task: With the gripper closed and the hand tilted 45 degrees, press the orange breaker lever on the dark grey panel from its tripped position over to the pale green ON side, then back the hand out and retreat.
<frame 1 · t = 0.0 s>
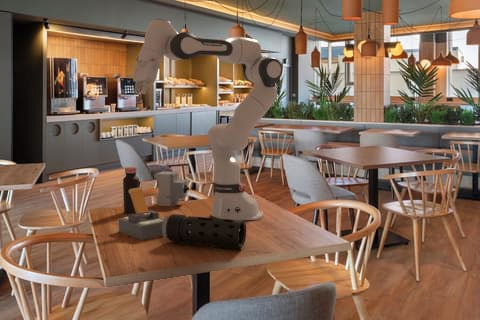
hand: (139, 93, 199), 52 cm above the table, tool tilted 20°, fingers open, 8 cm apart
muzzle brake: (203, 246, 178), on the table
bottle: (131, 212, 226), on the table
panel: (143, 232, 194), on the table
circuit breaker: (174, 204, 242), on the table
lever: (139, 203, 194), point 11 cm above the table, hinge at -30.0°
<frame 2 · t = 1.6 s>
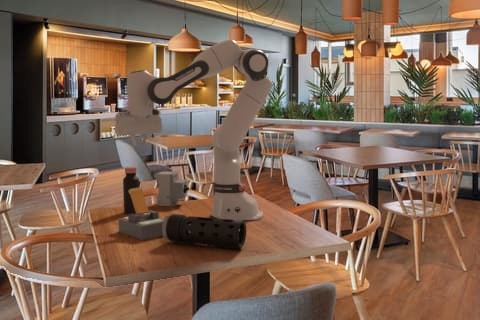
hand: (139, 145, 208), 31 cm above the table, tool pointing down, fingers closed
nothing on the table moved.
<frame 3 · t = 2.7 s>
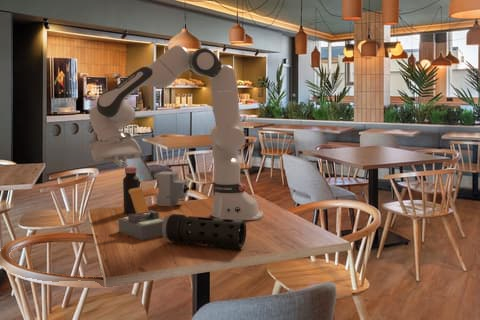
hand: (123, 166, 200), 24 cm above the table, tool tilted 45°, fingers closed
nothing on the table moved.
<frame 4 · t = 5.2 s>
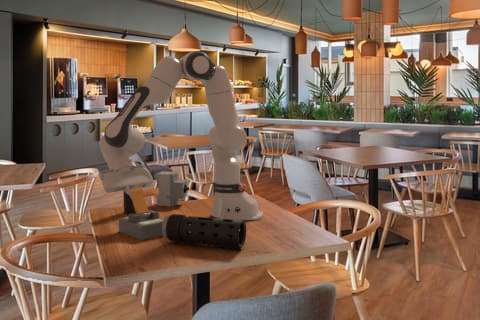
hand: (135, 197, 196), 13 cm above the table, tool tilted 45°, fingers closed, pressing on lever
lever: (139, 203, 194), point 11 cm above the table, hinge at -29.8°, touching gripper
everything else where it was.
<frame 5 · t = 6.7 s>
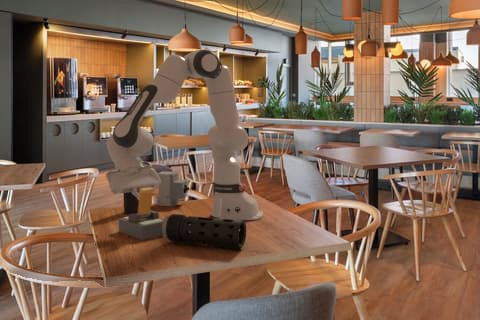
hand: (142, 199, 191), 13 cm above the table, tool tilted 45°, fingers closed, pressing on lever
lever: (145, 203, 191), point 11 cm above the table, hinge at 14.1°, touching gripper
everything else where it was.
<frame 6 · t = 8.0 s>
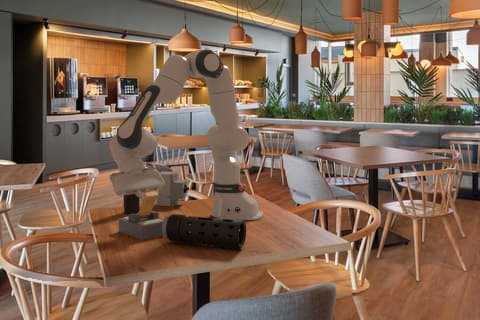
hand: (146, 200, 190), 13 cm above the table, tool tilted 45°, fingers closed, pressing on lever
lever: (147, 205, 190), point 11 cm above the table, hinge at 32.3°, touching gripper
everything else where it was.
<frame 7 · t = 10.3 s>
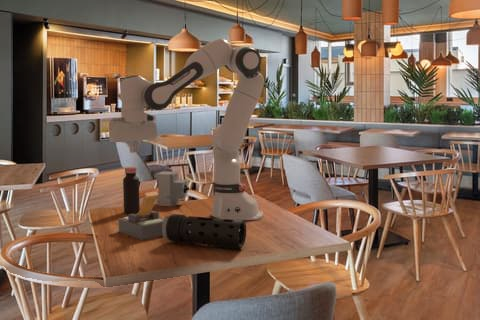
hand: (134, 152, 203), 29 cm above the table, tool pointing down, fingers closed
lever: (147, 206, 190), point 11 cm above the table, hinge at 32.6°
everything else where it was.
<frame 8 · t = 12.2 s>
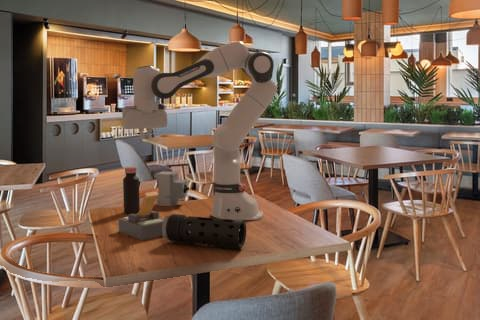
hand: (145, 139, 214), 33 cm above the table, tool pointing down, fingers closed
nothing on the table moved.
at the end: lever at +33° (first picture: -30°) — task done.
